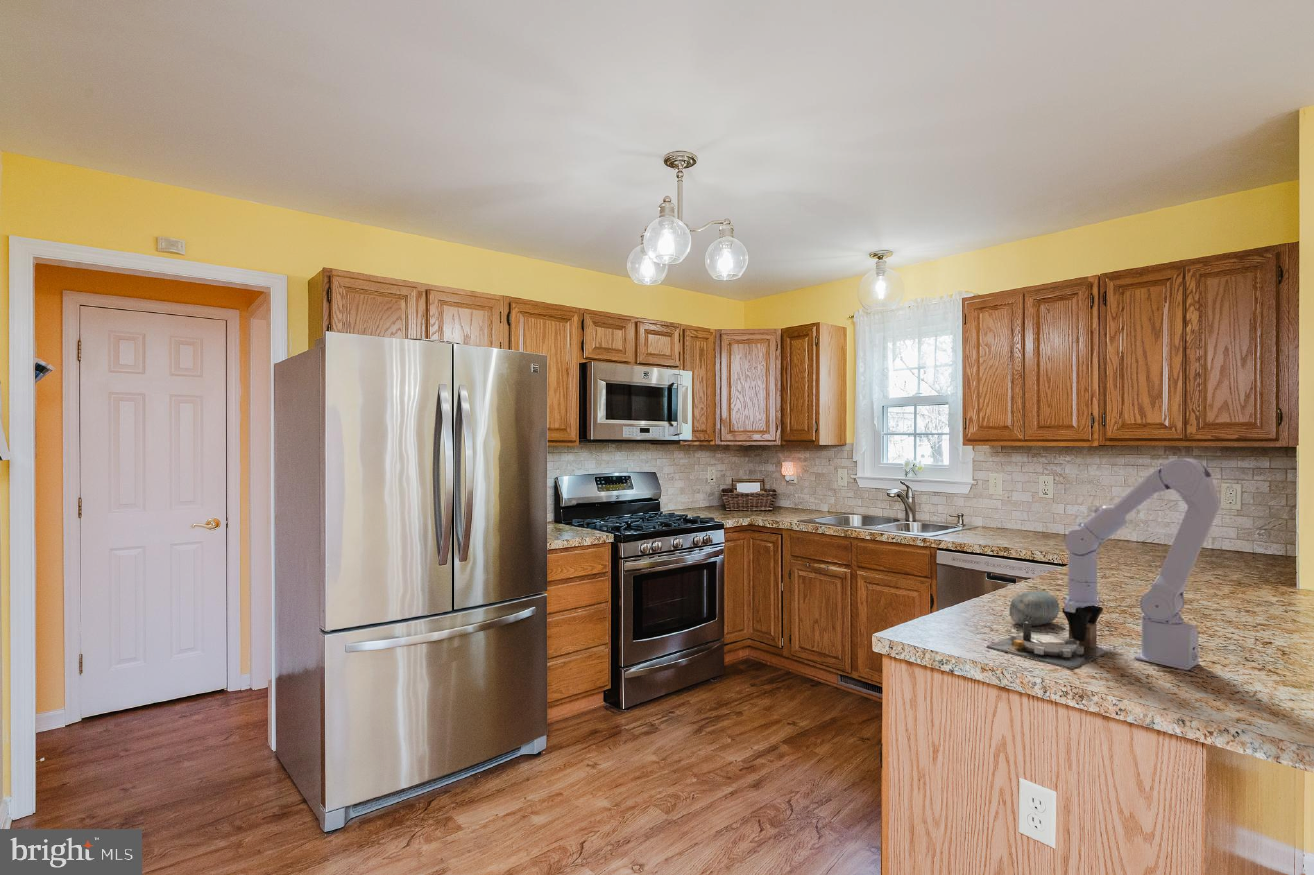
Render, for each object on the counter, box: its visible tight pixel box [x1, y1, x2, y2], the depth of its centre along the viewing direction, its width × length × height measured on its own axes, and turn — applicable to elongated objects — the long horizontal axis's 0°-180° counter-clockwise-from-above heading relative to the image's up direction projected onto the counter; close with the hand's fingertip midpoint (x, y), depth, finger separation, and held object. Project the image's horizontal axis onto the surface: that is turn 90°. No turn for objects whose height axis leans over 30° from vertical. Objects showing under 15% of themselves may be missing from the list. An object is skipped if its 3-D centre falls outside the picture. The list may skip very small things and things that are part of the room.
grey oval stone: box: [1009, 590, 1060, 627], centre depth 172 cm, size 14×10×10 cm
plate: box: [986, 636, 1109, 670], centre depth 150 cm, size 18×18×1 cm
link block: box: [1068, 623, 1098, 648], centre depth 154 cm, size 4×4×5 cm
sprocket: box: [1010, 622, 1084, 657], centre depth 150 cm, size 14×14×6 cm
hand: (1082, 638), depth 154 cm, fingers open, 4 cm apart
